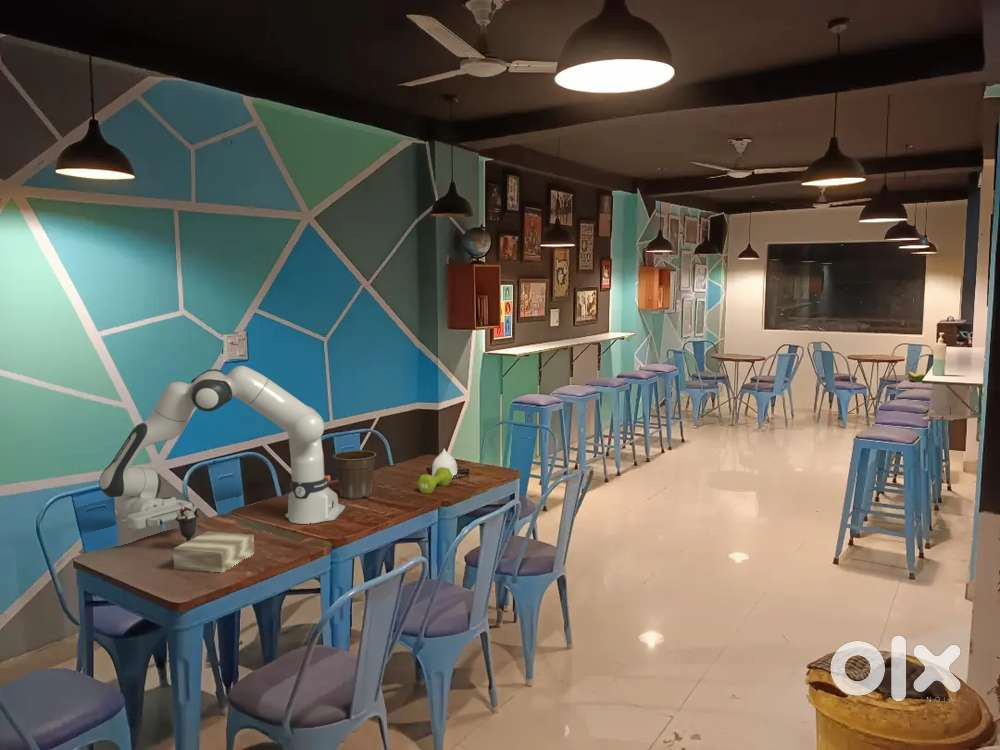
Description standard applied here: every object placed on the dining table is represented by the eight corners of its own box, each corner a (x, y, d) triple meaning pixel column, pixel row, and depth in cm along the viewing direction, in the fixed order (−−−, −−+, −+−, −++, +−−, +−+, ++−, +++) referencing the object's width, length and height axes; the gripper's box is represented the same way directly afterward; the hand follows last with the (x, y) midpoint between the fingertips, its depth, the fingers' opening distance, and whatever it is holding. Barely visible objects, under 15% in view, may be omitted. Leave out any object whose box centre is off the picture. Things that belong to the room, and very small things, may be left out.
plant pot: (378, 488, 301) (377, 449, 299) (376, 499, 285) (375, 458, 283) (337, 490, 299) (335, 451, 297) (333, 502, 283) (331, 460, 281)
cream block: (208, 550, 232) (207, 531, 231) (254, 553, 228) (253, 534, 227) (174, 568, 217) (172, 548, 216) (222, 573, 213) (221, 552, 212)
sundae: (173, 552, 231) (169, 504, 229) (185, 544, 238) (182, 498, 236) (193, 552, 230) (190, 505, 228) (204, 545, 237) (201, 498, 235)
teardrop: (439, 471, 328) (438, 444, 326) (462, 473, 323) (461, 446, 322) (427, 477, 318) (426, 449, 316) (450, 479, 313) (450, 451, 312)
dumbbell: (432, 495, 290) (432, 477, 290) (415, 493, 294) (415, 475, 293) (454, 485, 305) (454, 467, 304) (437, 483, 309) (437, 465, 308)
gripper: (117, 511, 236) (142, 517, 228) (177, 495, 253) (202, 501, 245) (119, 530, 237) (143, 537, 229) (179, 513, 254) (203, 520, 246)
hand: (174, 518), depth 237 cm, fingers open, 8 cm apart
